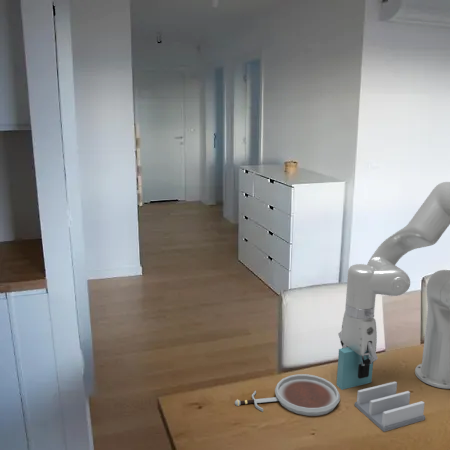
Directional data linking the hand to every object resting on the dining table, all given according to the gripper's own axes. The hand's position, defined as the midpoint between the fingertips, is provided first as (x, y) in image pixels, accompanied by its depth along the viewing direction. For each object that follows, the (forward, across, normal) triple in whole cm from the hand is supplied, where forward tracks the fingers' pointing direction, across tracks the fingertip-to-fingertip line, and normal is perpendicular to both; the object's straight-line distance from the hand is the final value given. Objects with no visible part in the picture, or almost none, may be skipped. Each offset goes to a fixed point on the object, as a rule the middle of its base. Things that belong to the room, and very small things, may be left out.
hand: (355, 370), depth 132 cm
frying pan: (+5, 0, +21) cm, 22 cm away
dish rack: (+4, -14, 0) cm, 15 cm away
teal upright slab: (+4, 0, 0) cm, 4 cm away
